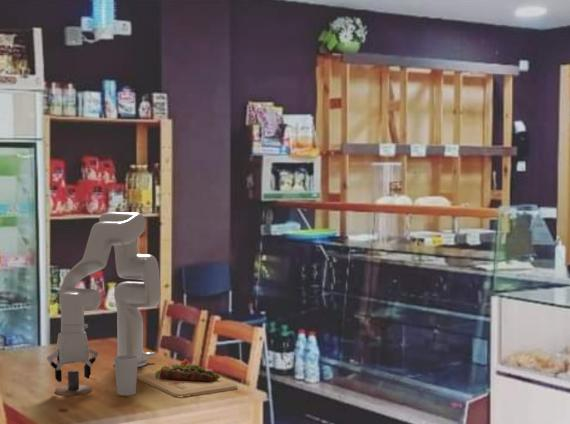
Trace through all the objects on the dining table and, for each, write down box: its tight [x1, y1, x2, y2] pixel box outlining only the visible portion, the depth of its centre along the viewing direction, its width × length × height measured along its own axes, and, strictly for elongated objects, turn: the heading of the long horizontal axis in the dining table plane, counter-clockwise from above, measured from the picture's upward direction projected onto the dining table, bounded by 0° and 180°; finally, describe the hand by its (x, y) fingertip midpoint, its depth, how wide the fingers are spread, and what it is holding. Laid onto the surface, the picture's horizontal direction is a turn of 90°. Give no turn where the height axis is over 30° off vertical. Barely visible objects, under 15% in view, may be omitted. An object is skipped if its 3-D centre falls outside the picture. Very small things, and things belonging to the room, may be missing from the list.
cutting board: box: [137, 358, 238, 397], centre depth 321 cm, size 35×23×8 cm
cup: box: [113, 355, 139, 396], centre depth 306 cm, size 8×8×12 cm
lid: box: [54, 369, 93, 397], centre depth 309 cm, size 12×12×7 cm
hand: (73, 379), depth 309 cm, fingers open, 9 cm apart
